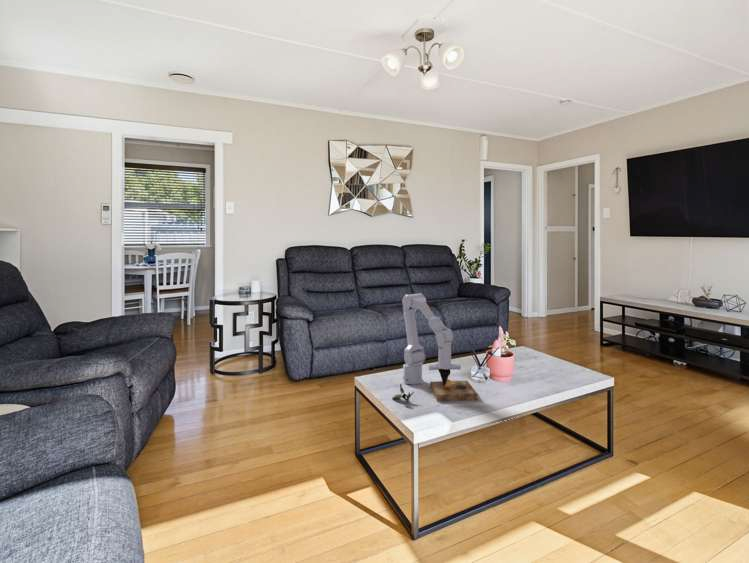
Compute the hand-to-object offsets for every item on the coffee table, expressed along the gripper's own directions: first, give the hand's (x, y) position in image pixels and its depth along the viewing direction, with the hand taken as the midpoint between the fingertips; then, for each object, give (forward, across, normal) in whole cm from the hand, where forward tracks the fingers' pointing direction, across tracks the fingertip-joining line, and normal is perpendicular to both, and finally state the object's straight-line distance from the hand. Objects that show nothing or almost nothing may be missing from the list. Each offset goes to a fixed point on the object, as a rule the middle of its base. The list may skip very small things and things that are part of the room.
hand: (444, 384), depth 184 cm
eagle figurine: (+5, -20, -5) cm, 21 cm away
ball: (0, +2, 0) cm, 2 cm away
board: (+4, +4, 0) cm, 6 cm away
